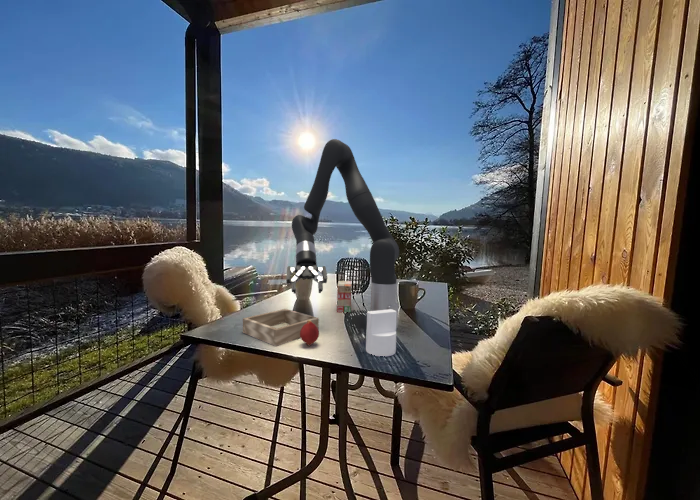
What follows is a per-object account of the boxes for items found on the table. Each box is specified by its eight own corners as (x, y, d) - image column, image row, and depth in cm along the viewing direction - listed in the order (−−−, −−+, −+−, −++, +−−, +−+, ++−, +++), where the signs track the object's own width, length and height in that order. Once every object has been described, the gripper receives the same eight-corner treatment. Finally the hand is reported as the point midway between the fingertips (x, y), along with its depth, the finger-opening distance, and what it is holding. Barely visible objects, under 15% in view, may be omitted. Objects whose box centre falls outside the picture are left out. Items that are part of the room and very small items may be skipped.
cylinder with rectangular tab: (374, 358, 86) (375, 316, 85) (360, 347, 94) (361, 309, 93) (401, 354, 89) (402, 314, 89) (386, 343, 98) (387, 306, 97)
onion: (311, 340, 99) (311, 316, 98) (322, 345, 94) (322, 320, 94) (296, 344, 95) (296, 319, 94) (307, 350, 90) (307, 323, 90)
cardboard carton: (338, 301, 155) (338, 277, 154) (350, 301, 155) (350, 277, 154) (336, 312, 133) (337, 285, 133) (350, 313, 133) (351, 285, 133)
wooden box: (318, 331, 107) (318, 317, 107) (275, 346, 93) (276, 330, 93) (285, 321, 119) (285, 308, 118) (242, 332, 104) (242, 318, 104)
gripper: (286, 249, 109) (286, 286, 99) (325, 249, 112) (329, 285, 102) (286, 262, 115) (286, 298, 104) (324, 262, 118) (327, 297, 107)
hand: (307, 292), depth 103 cm, fingers open, 8 cm apart
